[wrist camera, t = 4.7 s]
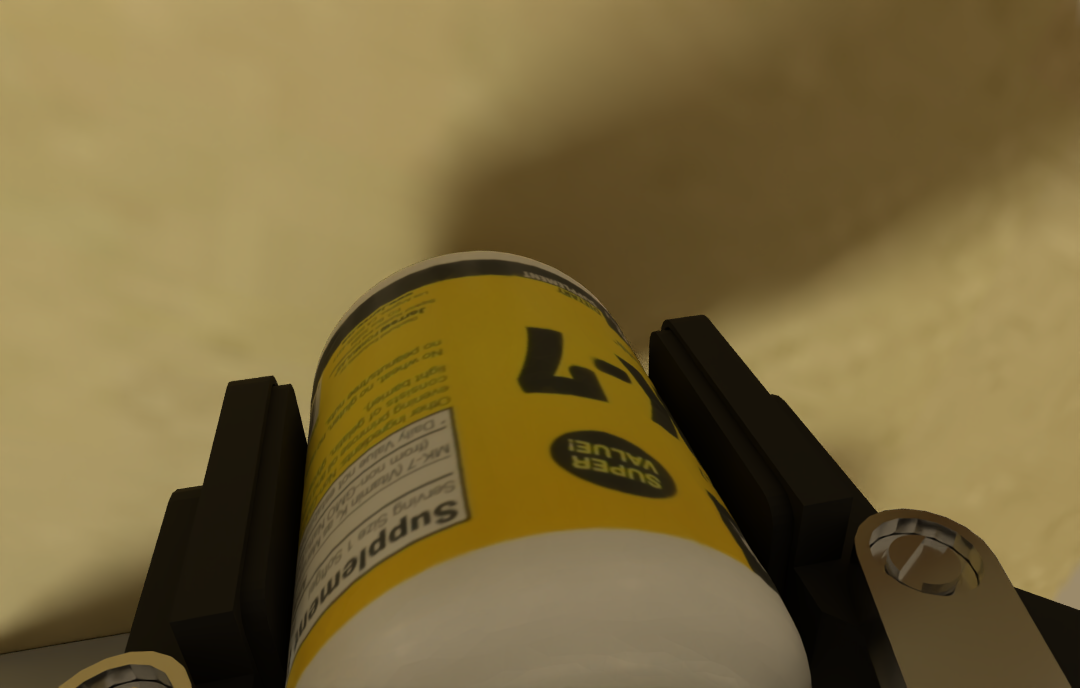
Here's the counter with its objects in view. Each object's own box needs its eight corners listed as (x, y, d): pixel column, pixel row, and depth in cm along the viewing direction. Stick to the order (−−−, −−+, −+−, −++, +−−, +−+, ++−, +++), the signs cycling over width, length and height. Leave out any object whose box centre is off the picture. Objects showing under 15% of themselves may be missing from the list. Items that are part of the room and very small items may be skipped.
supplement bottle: (679, 373, 13) (1088, 981, 6) (472, 548, 14) (599, 1255, 7) (474, 170, 11) (732, 769, 3) (241, 397, 11) (58, 1239, 4)
